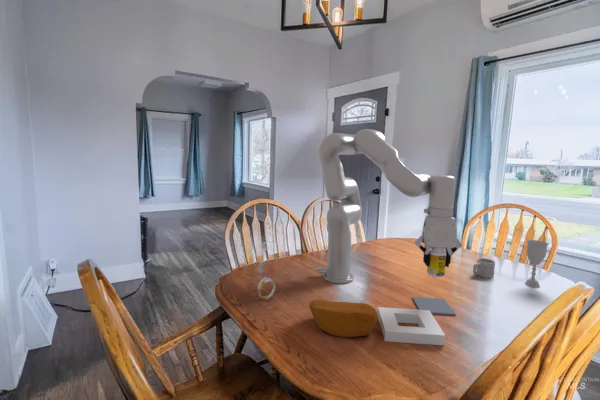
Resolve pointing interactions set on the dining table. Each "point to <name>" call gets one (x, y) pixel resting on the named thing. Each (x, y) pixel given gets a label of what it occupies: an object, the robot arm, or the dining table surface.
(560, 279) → the dining table surface
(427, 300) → the slate mat
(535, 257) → the chalice
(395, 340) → the pocket block
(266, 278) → the ring
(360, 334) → the bread
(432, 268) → the supplement bottle
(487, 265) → the mug
